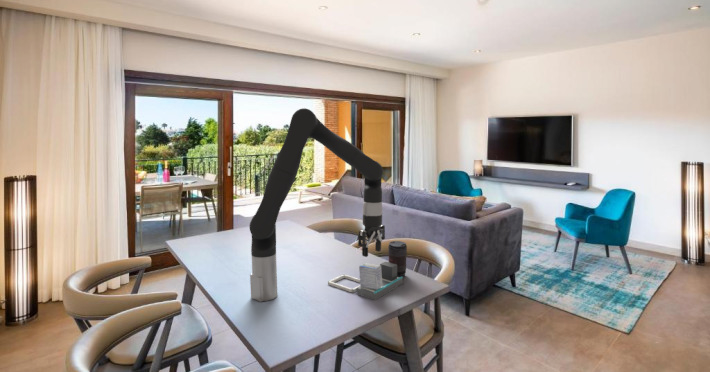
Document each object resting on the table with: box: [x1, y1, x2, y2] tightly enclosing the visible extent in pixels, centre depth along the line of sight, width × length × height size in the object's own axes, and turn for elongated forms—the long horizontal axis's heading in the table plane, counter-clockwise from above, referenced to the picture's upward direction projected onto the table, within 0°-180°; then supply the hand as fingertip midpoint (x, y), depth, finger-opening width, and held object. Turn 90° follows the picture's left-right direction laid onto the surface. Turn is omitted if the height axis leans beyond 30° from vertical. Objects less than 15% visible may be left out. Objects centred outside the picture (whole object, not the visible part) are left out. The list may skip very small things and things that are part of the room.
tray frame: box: [327, 274, 360, 294], centre depth 154 cm, size 11×14×1 cm
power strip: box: [356, 261, 404, 301], centre depth 149 cm, size 20×9×9 cm, turn 141°
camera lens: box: [387, 240, 408, 278], centre depth 162 cm, size 8×8×15 cm
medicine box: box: [358, 262, 382, 290], centre depth 144 cm, size 8×4×9 cm, turn 56°
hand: (371, 253), depth 143 cm, fingers open, 8 cm apart
